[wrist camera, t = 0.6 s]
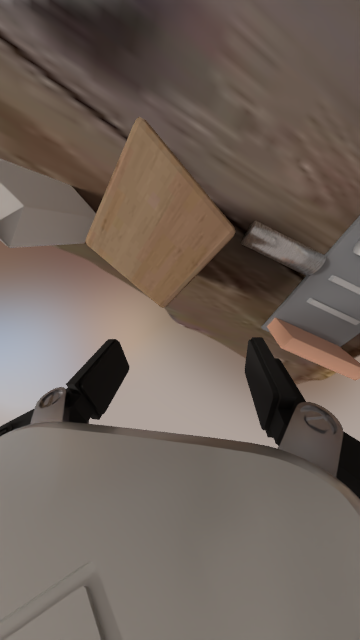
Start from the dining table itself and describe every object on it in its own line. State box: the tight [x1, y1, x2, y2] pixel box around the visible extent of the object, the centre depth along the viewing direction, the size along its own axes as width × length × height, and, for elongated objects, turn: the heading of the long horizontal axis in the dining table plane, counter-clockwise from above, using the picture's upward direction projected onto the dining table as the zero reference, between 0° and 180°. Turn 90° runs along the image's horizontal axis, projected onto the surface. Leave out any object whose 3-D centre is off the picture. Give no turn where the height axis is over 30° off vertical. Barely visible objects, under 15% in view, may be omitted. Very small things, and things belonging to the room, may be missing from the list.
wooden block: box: [86, 117, 235, 308], centre depth 21 cm, size 10×10×20 cm
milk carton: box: [0, 159, 96, 248], centre depth 22 cm, size 7×7×19 cm
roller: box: [241, 220, 326, 275], centre depth 27 cm, size 4×14×4 cm, turn 68°
